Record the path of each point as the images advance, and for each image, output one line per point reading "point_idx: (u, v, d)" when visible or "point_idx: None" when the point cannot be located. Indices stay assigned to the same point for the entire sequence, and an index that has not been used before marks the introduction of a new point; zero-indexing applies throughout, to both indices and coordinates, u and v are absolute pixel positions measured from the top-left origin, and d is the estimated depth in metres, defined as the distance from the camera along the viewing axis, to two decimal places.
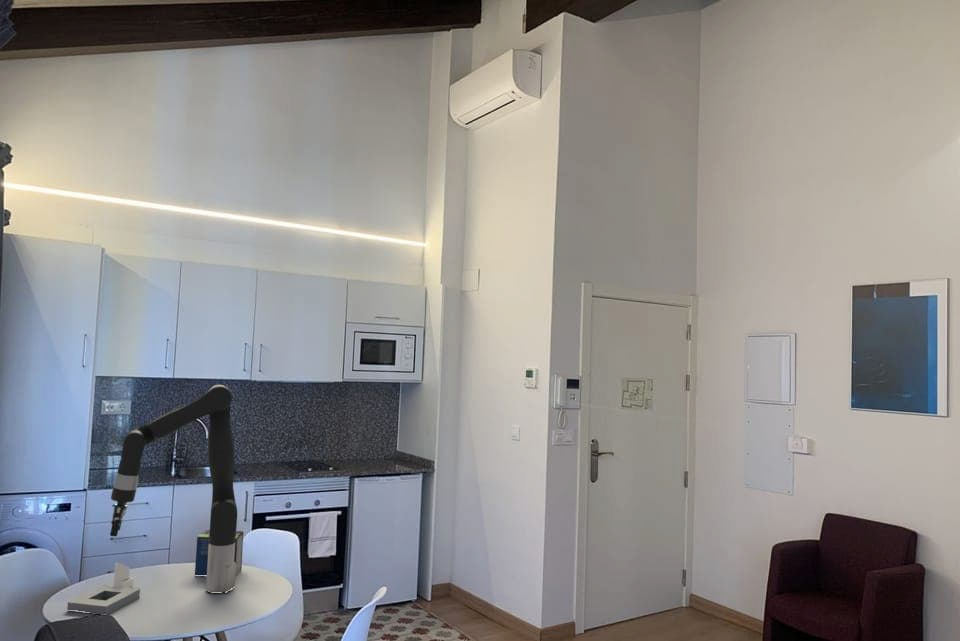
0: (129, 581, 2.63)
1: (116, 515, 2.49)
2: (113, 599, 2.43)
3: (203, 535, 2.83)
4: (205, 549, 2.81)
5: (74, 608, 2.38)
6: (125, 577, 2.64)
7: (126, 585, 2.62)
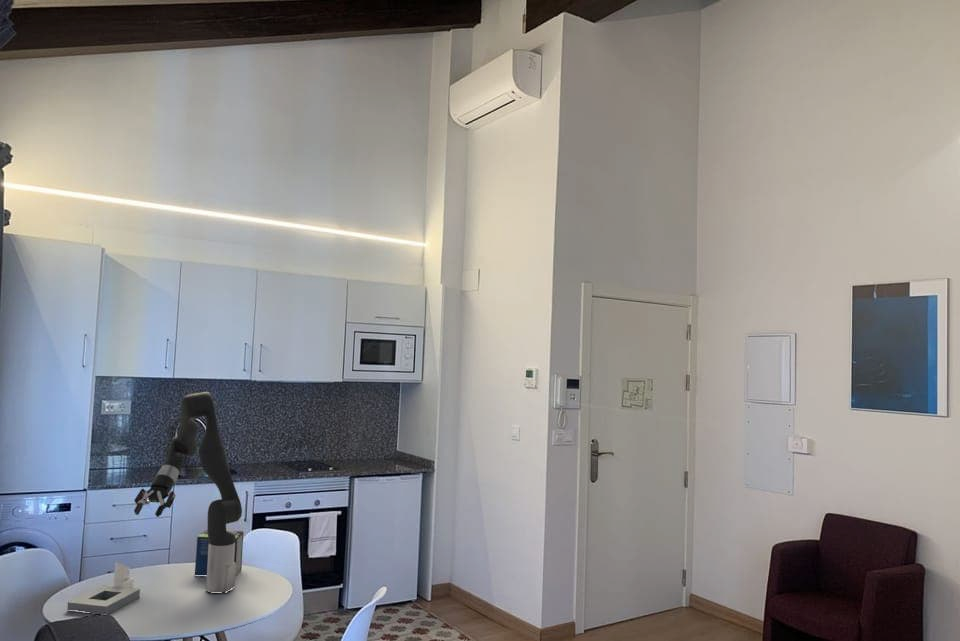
0: (129, 581, 2.63)
1: None
2: (113, 599, 2.43)
3: (203, 535, 2.83)
4: (205, 549, 2.81)
5: (74, 608, 2.38)
6: (125, 577, 2.64)
7: (126, 585, 2.62)
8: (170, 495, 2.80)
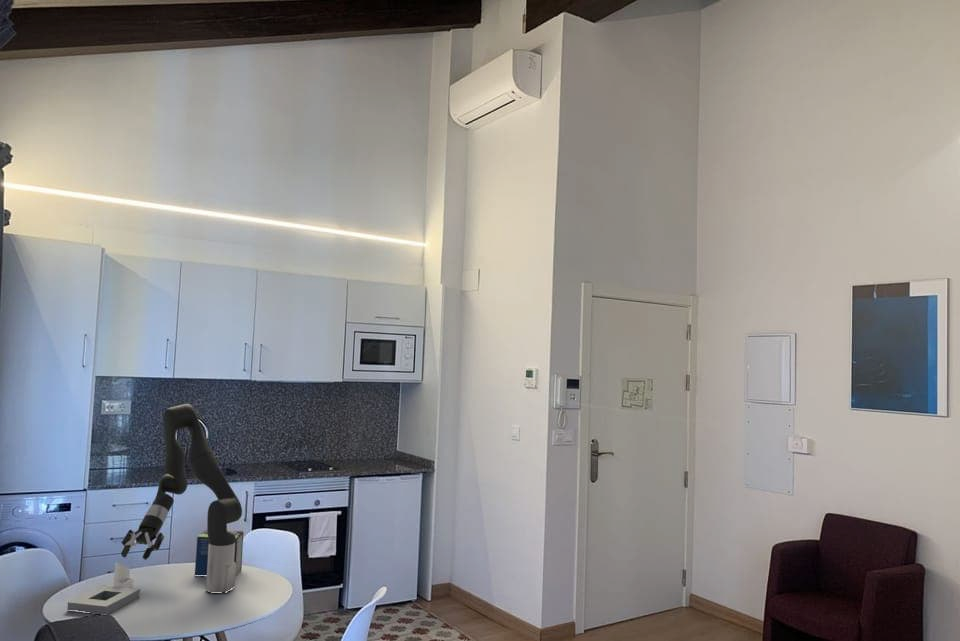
0: (129, 581, 2.63)
1: None
2: (113, 599, 2.43)
3: (203, 535, 2.83)
4: (205, 549, 2.81)
5: (74, 608, 2.38)
6: (125, 577, 2.64)
7: (126, 585, 2.62)
8: (158, 537, 2.73)
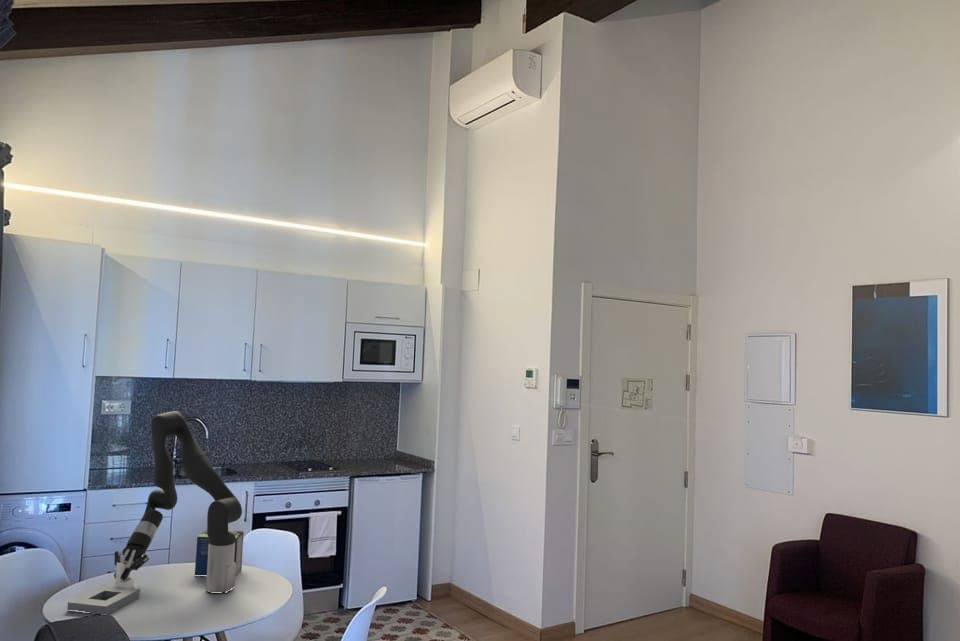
0: (130, 581, 2.64)
1: None
2: (113, 599, 2.43)
3: (203, 535, 2.83)
4: (205, 549, 2.81)
5: (74, 608, 2.38)
6: None
7: (127, 585, 2.62)
8: (141, 558, 2.65)
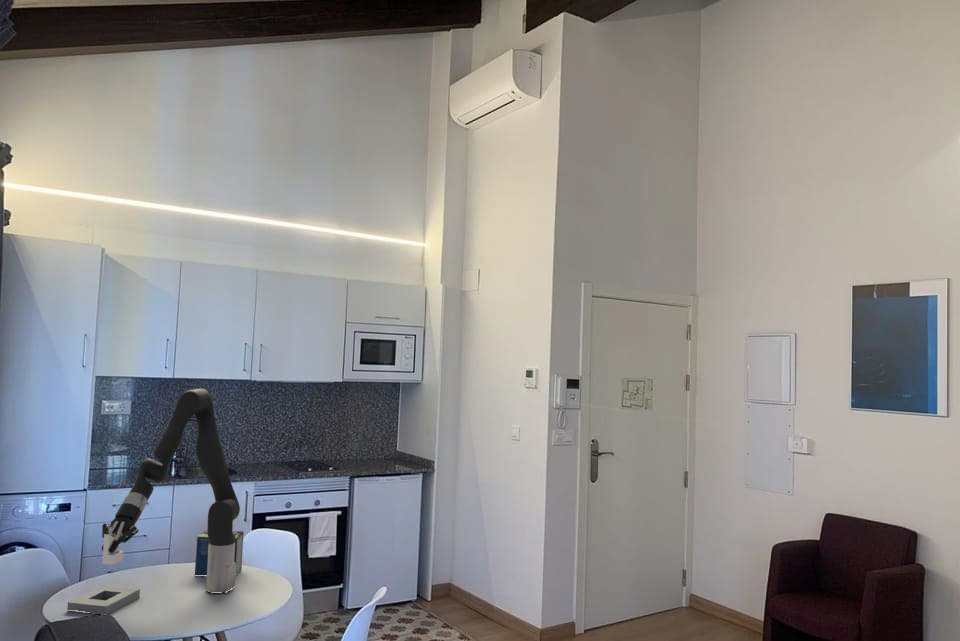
0: (119, 554, 2.51)
1: None
2: (113, 599, 2.43)
3: (203, 535, 2.83)
4: (205, 549, 2.81)
5: (74, 608, 2.38)
6: None
7: (116, 558, 2.49)
8: (130, 530, 2.52)
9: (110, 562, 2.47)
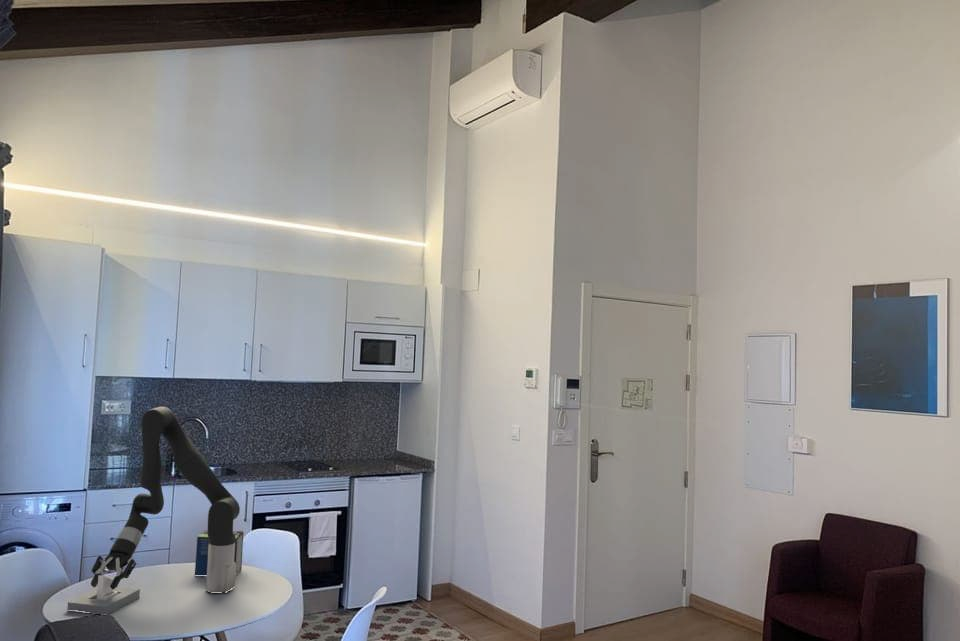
0: (113, 595, 2.47)
1: None
2: (113, 599, 2.43)
3: (203, 535, 2.83)
4: (205, 549, 2.81)
5: (74, 608, 2.38)
6: (109, 591, 2.48)
7: None
8: (129, 564, 2.50)
9: None
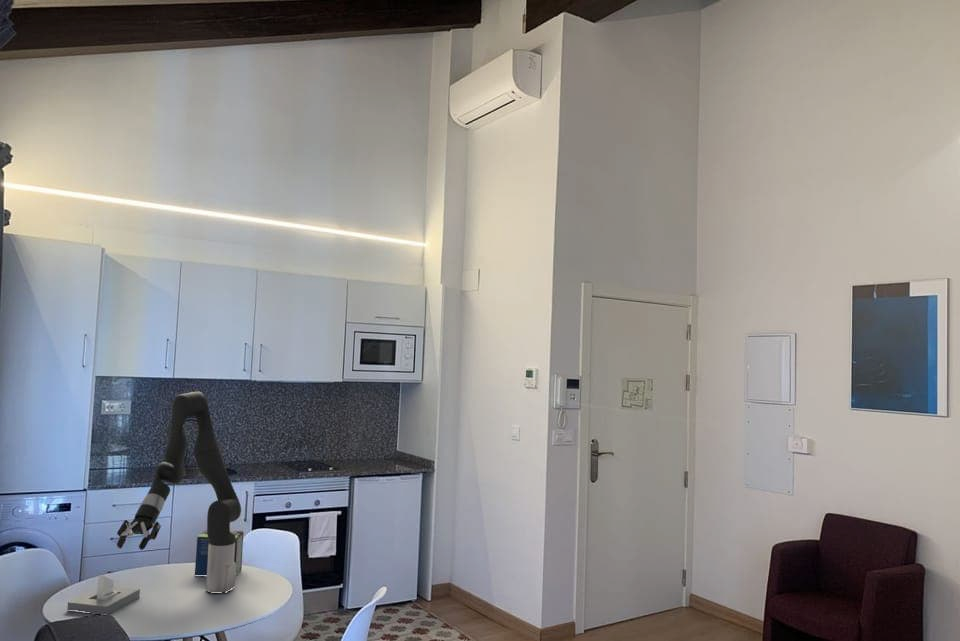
0: (113, 595, 2.47)
1: None
2: (113, 599, 2.43)
3: (203, 535, 2.83)
4: (205, 549, 2.81)
5: (74, 608, 2.38)
6: (109, 591, 2.48)
7: None
8: (155, 526, 2.63)
9: None
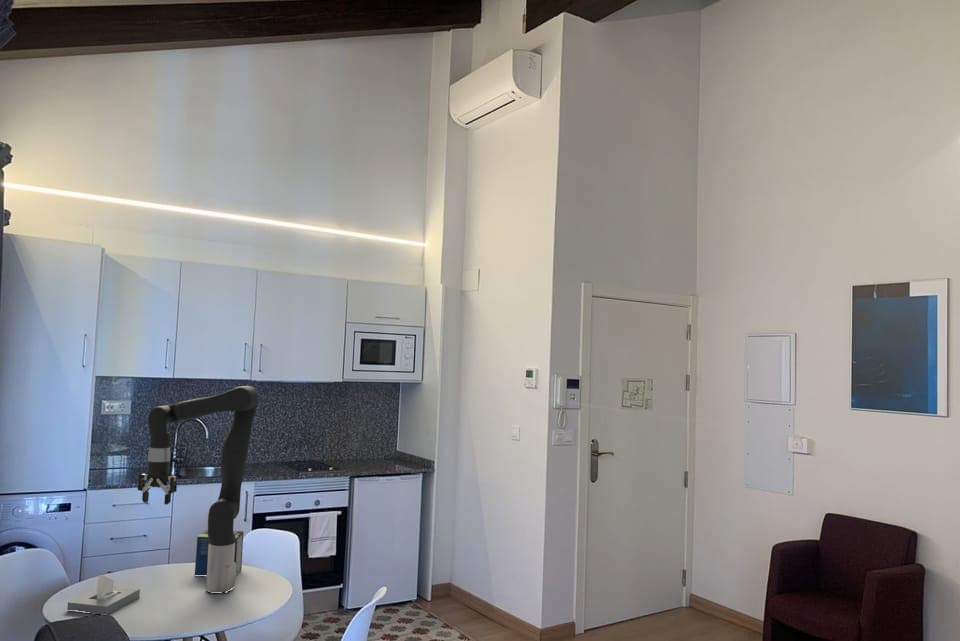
0: (113, 595, 2.47)
1: None
2: (113, 599, 2.43)
3: (203, 535, 2.83)
4: (205, 549, 2.81)
5: (74, 608, 2.38)
6: (109, 591, 2.48)
7: None
8: (171, 482, 2.68)
9: None
